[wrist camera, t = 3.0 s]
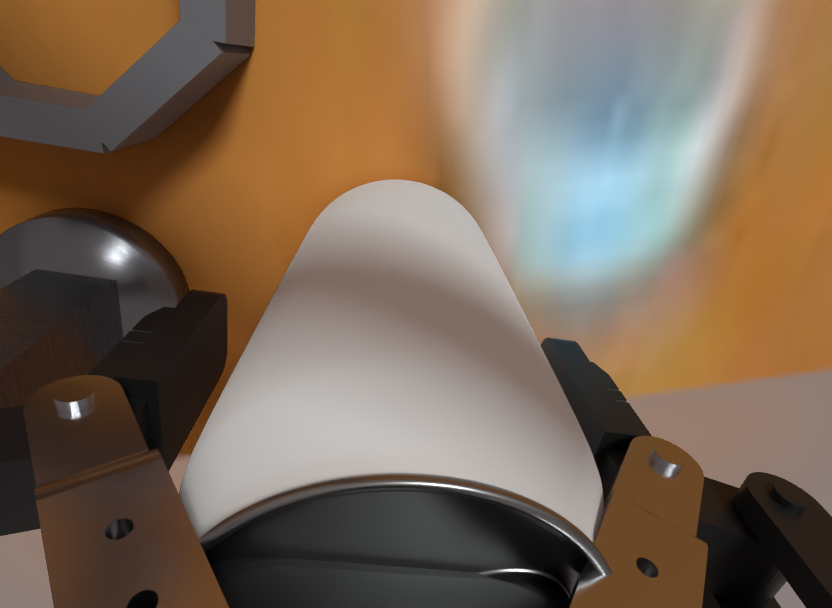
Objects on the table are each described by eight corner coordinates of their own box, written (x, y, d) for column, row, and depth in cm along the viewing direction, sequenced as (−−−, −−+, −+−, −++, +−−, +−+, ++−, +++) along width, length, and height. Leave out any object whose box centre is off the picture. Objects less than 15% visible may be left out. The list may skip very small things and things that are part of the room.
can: (479, 347, 18) (598, 755, 7) (310, 347, 18) (179, 771, 7) (497, 177, 15) (735, 447, 4) (294, 173, 15) (31, 451, 4)
